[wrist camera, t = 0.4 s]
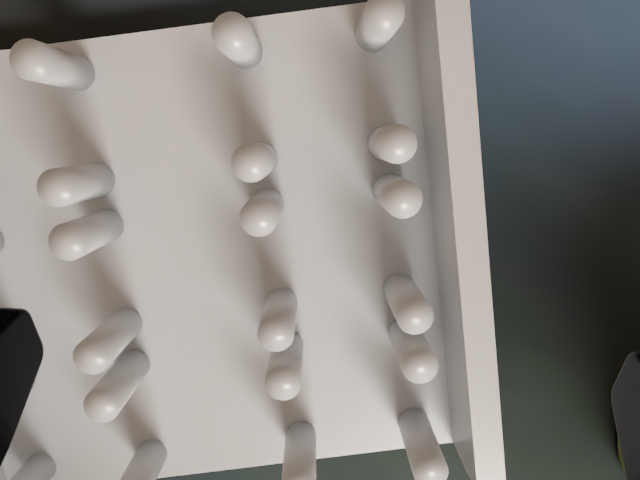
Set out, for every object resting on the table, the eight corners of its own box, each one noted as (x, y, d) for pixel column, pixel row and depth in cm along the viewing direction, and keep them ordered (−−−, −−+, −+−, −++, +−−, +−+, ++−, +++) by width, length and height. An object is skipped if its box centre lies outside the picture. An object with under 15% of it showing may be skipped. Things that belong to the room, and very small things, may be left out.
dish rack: (471, 427, 24) (507, 493, 19) (-1, 484, 24) (-72, 562, 20) (434, -1, 21) (466, -39, 16) (-104, 69, 21) (-215, 52, 17)
